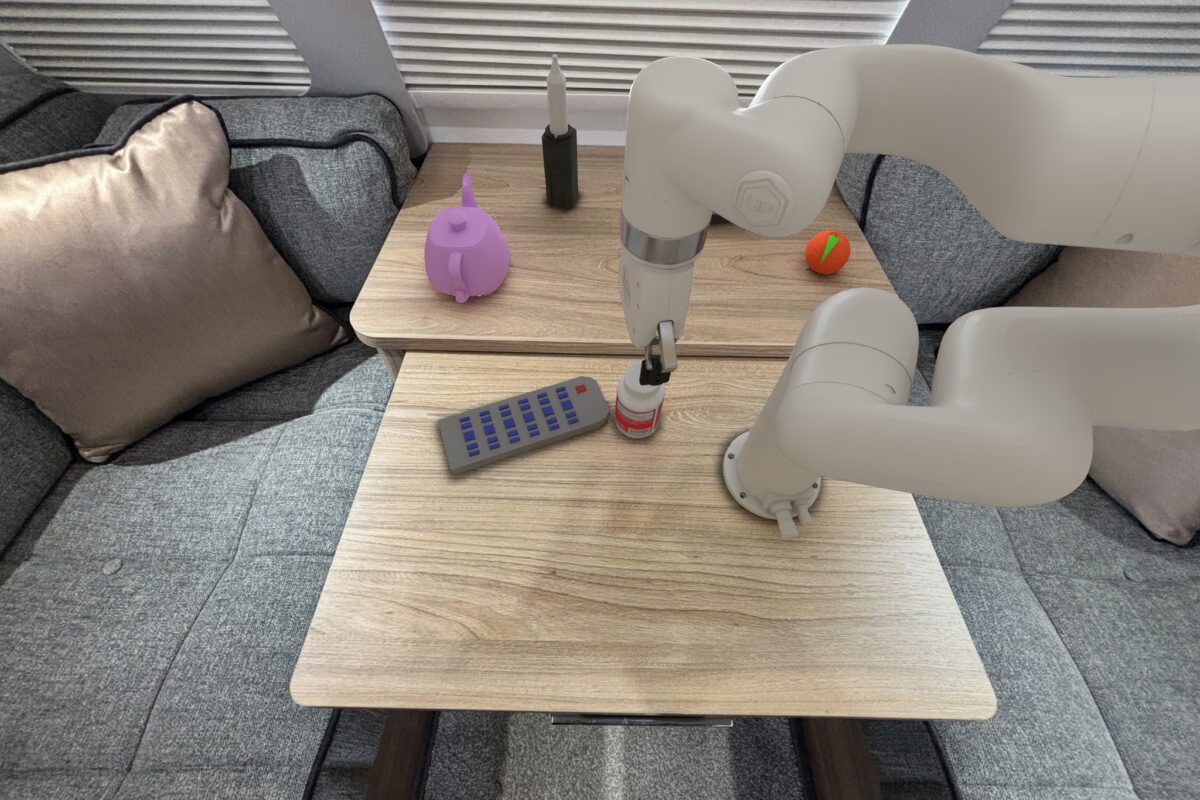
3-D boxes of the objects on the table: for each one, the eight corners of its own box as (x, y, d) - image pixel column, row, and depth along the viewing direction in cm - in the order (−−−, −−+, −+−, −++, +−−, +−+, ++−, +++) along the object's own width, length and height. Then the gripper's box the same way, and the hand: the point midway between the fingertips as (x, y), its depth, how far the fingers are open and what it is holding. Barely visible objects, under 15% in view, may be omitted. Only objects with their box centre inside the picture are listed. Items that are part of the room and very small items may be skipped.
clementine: (830, 292, 87) (848, 260, 81) (790, 276, 89) (805, 243, 83) (846, 263, 91) (864, 230, 85) (807, 248, 93) (822, 214, 87)
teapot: (507, 315, 84) (496, 259, 74) (423, 315, 84) (400, 259, 74) (516, 228, 95) (507, 169, 84) (441, 228, 94) (423, 169, 84)
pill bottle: (638, 394, 77) (645, 347, 67) (667, 423, 74) (678, 379, 65) (605, 417, 75) (607, 373, 65) (634, 448, 72) (640, 406, 63)
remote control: (441, 426, 74) (437, 418, 72) (593, 379, 78) (593, 370, 76) (453, 476, 70) (449, 469, 68) (613, 423, 74) (613, 415, 72)
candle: (545, 204, 98) (532, 59, 77) (554, 187, 101) (544, 43, 79) (571, 210, 97) (565, 65, 76) (580, 193, 100) (576, 48, 79)
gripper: (605, 165, 49) (601, 292, 64) (639, 306, 41) (625, 416, 55) (683, 159, 50) (661, 286, 65) (734, 296, 41) (695, 408, 56)
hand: (645, 346), depth 60 cm, fingers open, 9 cm apart
